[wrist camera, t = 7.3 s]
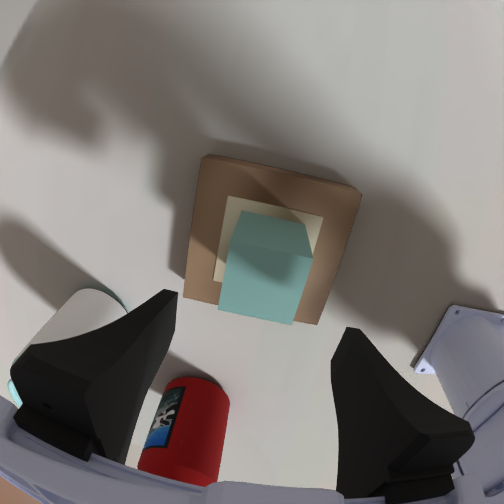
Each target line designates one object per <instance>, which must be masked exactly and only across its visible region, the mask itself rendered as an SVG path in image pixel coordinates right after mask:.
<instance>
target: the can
mask: <svg viewBox="0 0 504 504" xmlns="http://www.w3.org/2000/svg"><path fill="white" fill-rule="evenodd" d="M126 314H127V312H126V311H125V309H124V308H123V307H122V306H121V305H120V304H119V303H118V302H117V301H116V300H115V299H113V298H112V297H111V296H109V295H108V294H106V293H104V292H102V291H99V290H95V289H81V290H79V291H77V292H75V293H74V294H73V295H72V296H71V297H70V298H69V299H68V301H67V302H66V303H65V304H64V305H63V306H62V307H61V308H60V309H59V310H58V311H57V312H56V313H55V314H54V315H53V316H52V318H51V319H50V320H49V321H48V322H47V323H46V324H45V325H44V326H43V327H42V328H41V330H40V331H39V332H38V333H37V334H36V335H35V336H34V337H33V339H32V340H31V341H30V342H29V343H28V344H27V345H26V347H25V348H24V349H23V350H22V351H21V352H20V354H19V355H18V356H17V357H16V358H15V360H14V361H13V364H14V363H15V362H16V360H17V359H18V358H19V357H20V356H21V354H22V353H23V352H24V351H25V350H26V349H27V348H28V346H29V345H30V344H39V343H46V342H53V341H58V340H63V339H67V338H71V337H75V336H78V335H81V334H84V333H87V332H90V331H93V330H96V329H98V328H100V327H103V326H105V325H107V324H109V323H111V322H113V321H115V320H117V319H119V318H121V317H122V316H124V315H126ZM13 364H12V365H13ZM8 389H9V392H10V394H11V396H12V398H13V399H14V401H15V402H16V404H17V405H18V406H19V407H20V406H21V405H22V404H23V403H22V401H21V399H20V397H19V395H18V393H17V391H16V388H15V386H14V384H13V382H12V379H10V380H9V381H8Z"/></svg>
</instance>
